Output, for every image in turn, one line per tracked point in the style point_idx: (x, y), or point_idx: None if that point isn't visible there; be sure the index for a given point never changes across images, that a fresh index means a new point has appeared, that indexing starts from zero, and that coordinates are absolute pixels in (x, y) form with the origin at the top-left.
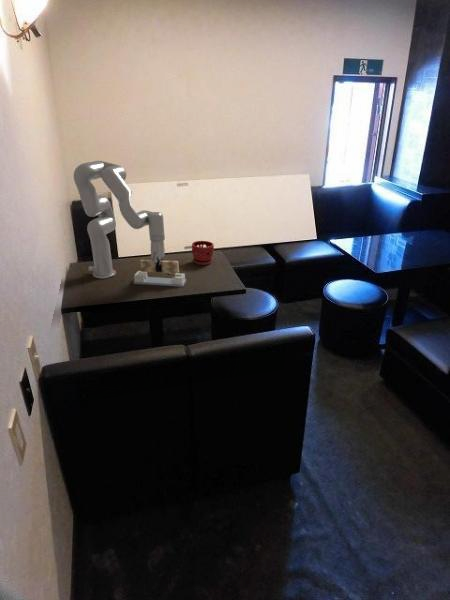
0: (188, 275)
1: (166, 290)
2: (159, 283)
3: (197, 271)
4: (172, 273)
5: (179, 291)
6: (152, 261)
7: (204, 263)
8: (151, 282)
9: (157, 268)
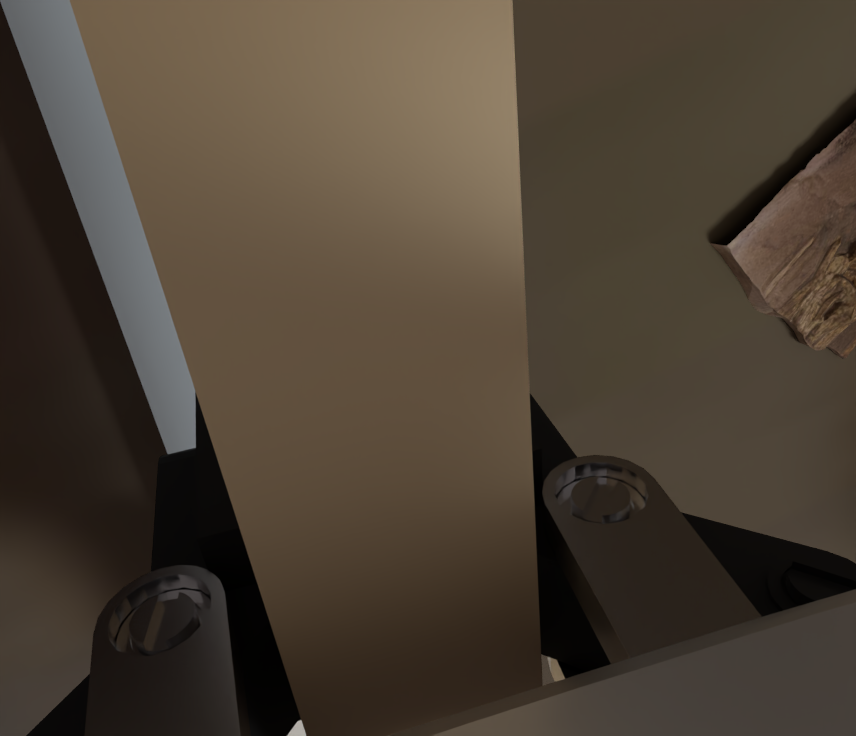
0: (703, 515)
1: None
2: (125, 331)
3: (850, 540)
4: (760, 277)
5: (46, 711)
6: (232, 479)
7: None
8: (85, 110)
9: (168, 522)
